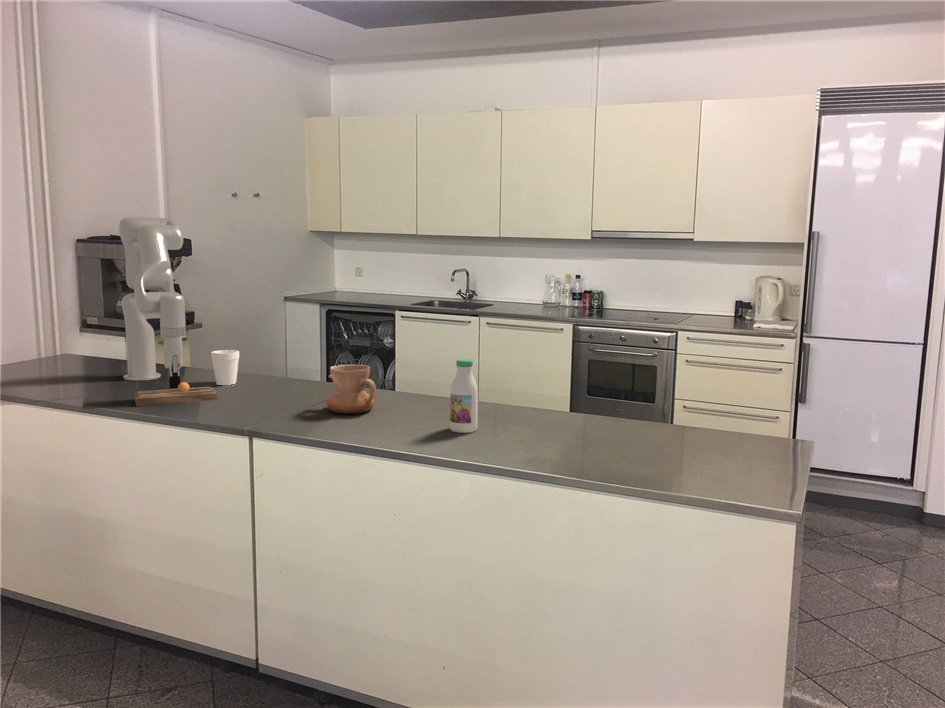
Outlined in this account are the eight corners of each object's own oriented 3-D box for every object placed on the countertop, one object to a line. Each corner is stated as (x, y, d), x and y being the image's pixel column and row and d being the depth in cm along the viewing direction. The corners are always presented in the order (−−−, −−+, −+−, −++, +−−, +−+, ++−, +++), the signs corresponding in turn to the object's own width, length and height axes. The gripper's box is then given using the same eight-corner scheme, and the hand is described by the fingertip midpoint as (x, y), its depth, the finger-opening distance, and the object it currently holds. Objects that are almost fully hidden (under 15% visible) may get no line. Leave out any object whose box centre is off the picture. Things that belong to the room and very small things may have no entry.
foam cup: (206, 388, 259) (205, 352, 257) (226, 384, 267) (225, 349, 265) (226, 391, 255) (225, 354, 253) (245, 386, 263) (244, 351, 261)
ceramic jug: (313, 412, 223) (313, 367, 222) (347, 405, 235) (346, 361, 233) (356, 421, 213) (356, 373, 211) (389, 412, 225) (389, 367, 223)
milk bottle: (461, 425, 210) (463, 357, 207) (482, 430, 205) (484, 360, 202) (444, 430, 204) (445, 360, 201) (465, 435, 199) (466, 363, 196)
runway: (134, 399, 238) (134, 390, 237) (212, 394, 248) (211, 385, 248) (136, 406, 227) (136, 397, 227) (217, 400, 238) (216, 391, 237)
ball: (193, 390, 238) (184, 396, 238) (188, 381, 239) (179, 387, 239) (187, 387, 235) (178, 394, 235) (182, 378, 236) (173, 385, 236)
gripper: (159, 330, 240) (161, 384, 243) (161, 335, 227) (163, 393, 229) (183, 329, 243) (185, 383, 246) (187, 335, 230) (189, 391, 233)
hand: (175, 388), depth 238 cm, fingers closed
